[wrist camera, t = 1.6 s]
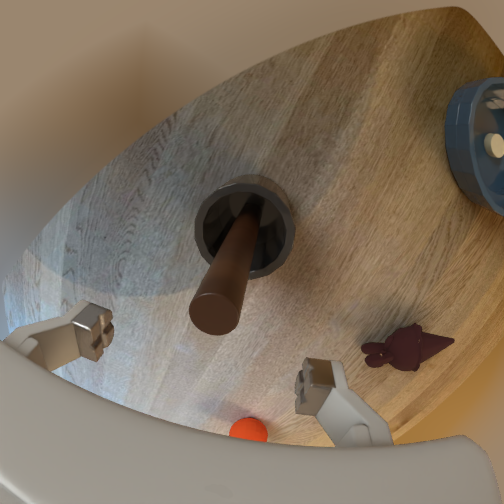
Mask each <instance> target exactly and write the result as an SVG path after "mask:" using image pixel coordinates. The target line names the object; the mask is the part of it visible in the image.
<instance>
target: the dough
mask: <svg viewBox="0 0 504 504" xmlns="http://www.w3.org/2000/svg"><path fill="white" fill-rule="evenodd" d="M484 146H485V150H486V152H487V153H488V155H490V156H492V157H497V158H500V157H502V156H503V155H504V140H503V138H502V137H501V136H500V135H499V134H492V133H489V134H487V135H486V137H485V140H484Z"/></svg>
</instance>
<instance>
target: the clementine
mask: <svg viewBox="0 0 504 504" xmlns="http://www.w3.org/2000/svg"><path fill="white" fill-rule="evenodd" d="M229 436H231V437H236V438H242V439H248V440H254V441H261V442H266V441H267V437H268V433H267V430H266V427H265V426H264V425H263V424H262V423H261V422H260V421H259V420H256V419H254V418H243V419H240V420H238V421H237V422H235V423H234V424H233V425H232V427H231V429H230V432H229Z"/></svg>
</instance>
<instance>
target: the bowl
mask: <svg viewBox="0 0 504 504" xmlns="http://www.w3.org/2000/svg"><path fill="white" fill-rule="evenodd" d="M489 133H492V134H499V135H500V136H501V137H502V138H503V140H504V78H503V77H494V78H486V79H482V80H477V81H472V82H468V83H466V84H464V85H463V86H462V87H460V88H459V89H458V90H456V91H455V93H454V95H453V97H452V99H451V101H450V103H449V105H448V109H447V115H446V121H445V141H446V151H447V155H448V159H449V163H450V167H451V170H452V172H453V174H454V176H455V179H456V181H457V183H458V185H459V187H460V189H461V190H462V191H463V192H464V193H465V194H466V196H467V197H468V198H469V199H470V200H471V201H472V202H474V203H475V204H477V205H479V206H481V207H482V208H485V209H487V210H489V211H491V212H494V213H496V214H498V215H500V216H503V217H504V155H503V156H502V157H500V158H497V157H492V156H490V155H488V153H487V152H486V150H485V146H484V140H485V137H486V135H487V134H489Z"/></svg>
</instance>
